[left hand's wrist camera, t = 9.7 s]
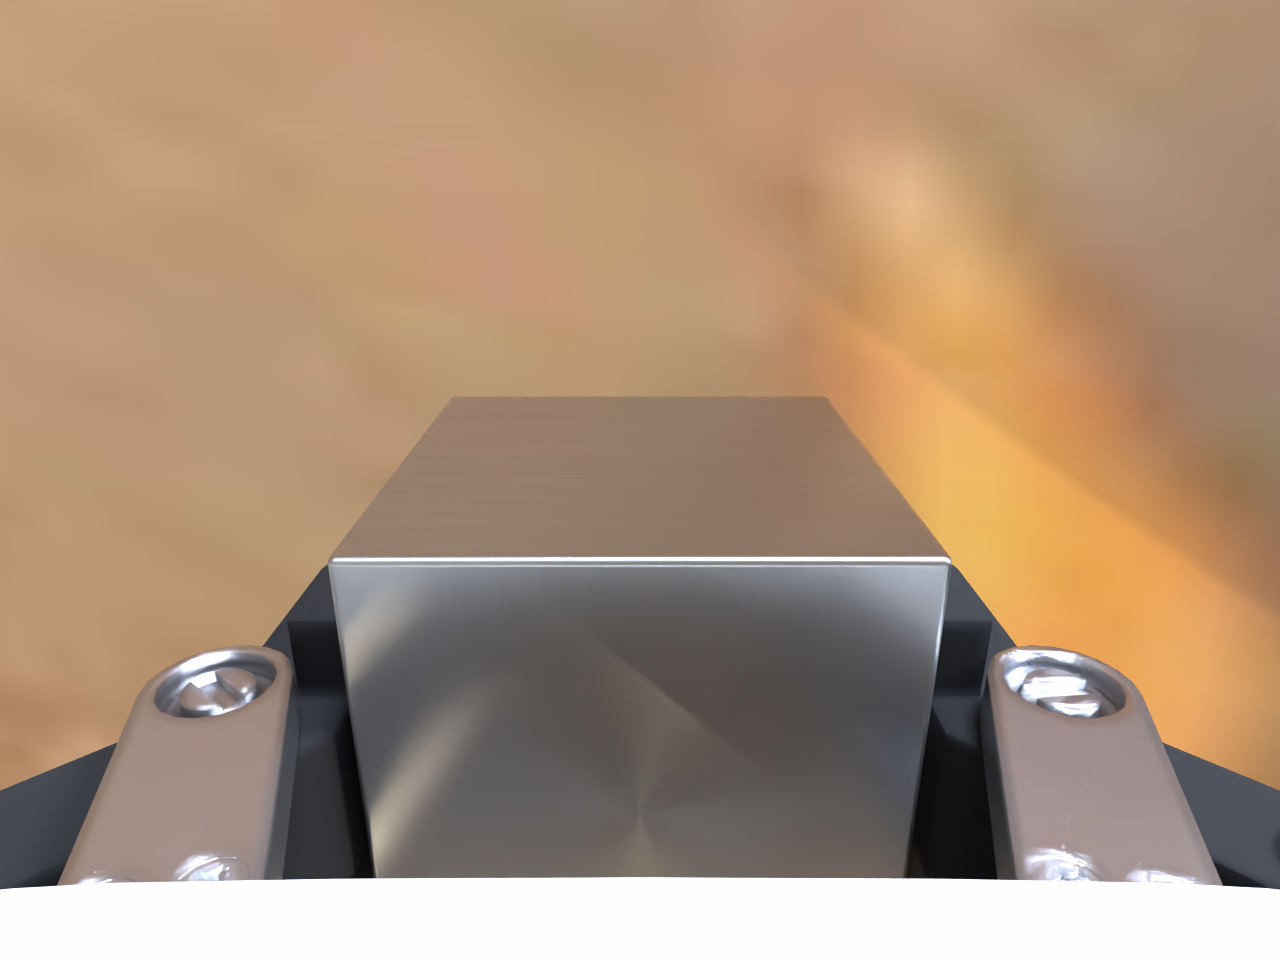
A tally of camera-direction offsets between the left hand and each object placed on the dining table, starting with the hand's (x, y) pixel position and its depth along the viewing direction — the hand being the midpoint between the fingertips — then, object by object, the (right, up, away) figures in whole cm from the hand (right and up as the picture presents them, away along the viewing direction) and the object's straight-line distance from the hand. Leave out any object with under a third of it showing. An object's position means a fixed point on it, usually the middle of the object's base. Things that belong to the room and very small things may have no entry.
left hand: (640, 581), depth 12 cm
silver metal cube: (0, 0, 0) cm, 0 cm away
